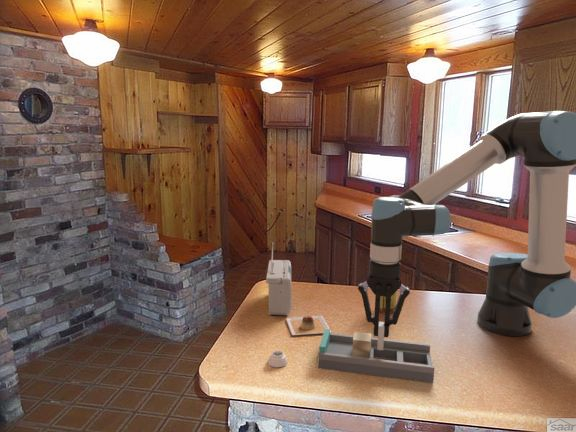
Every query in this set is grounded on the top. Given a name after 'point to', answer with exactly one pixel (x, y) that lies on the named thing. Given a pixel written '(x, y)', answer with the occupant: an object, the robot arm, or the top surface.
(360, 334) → the maple block
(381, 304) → the sauce bottle
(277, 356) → the white jar
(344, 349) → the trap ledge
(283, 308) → the stereo radio cassette player
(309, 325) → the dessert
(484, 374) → the top surface
